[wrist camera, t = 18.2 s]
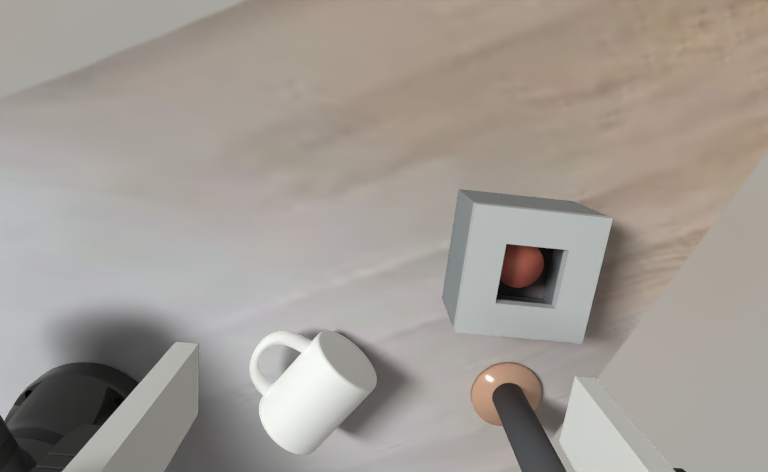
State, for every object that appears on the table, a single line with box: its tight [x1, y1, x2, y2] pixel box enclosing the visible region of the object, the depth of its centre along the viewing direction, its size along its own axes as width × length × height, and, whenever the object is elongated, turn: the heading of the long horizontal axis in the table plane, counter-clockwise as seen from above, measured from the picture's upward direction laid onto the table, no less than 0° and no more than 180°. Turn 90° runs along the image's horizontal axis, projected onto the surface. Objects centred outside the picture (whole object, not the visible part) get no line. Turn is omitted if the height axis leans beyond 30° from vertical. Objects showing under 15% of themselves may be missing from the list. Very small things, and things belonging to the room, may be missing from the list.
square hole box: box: [442, 189, 613, 344], centre depth 44 cm, size 12×12×8 cm
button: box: [500, 244, 544, 288], centre depth 45 cm, size 5×5×3 cm
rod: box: [492, 383, 566, 472], centre depth 44 cm, size 4×4×15 cm
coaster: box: [471, 362, 541, 426], centre depth 52 cm, size 8×8×1 cm
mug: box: [250, 331, 377, 455], centre depth 47 cm, size 12×10×8 cm
